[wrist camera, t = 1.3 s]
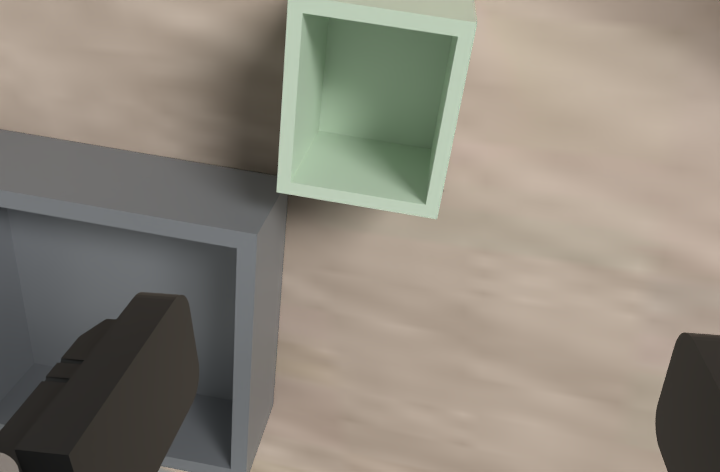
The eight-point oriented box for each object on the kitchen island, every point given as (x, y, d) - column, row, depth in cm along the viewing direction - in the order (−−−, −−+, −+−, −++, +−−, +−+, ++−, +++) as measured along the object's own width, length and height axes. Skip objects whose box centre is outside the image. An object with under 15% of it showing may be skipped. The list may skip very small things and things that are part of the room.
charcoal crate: (32, 359, 38) (-28, 428, 33) (-9, 127, 31) (-94, 173, 26) (273, 405, 37) (245, 482, 32) (289, 177, 30) (257, 234, 25)
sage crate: (309, 135, 29) (276, 192, 24) (322, -30, 25) (288, -6, 20) (440, 157, 29) (436, 219, 23) (473, -8, 25) (477, 22, 20)
